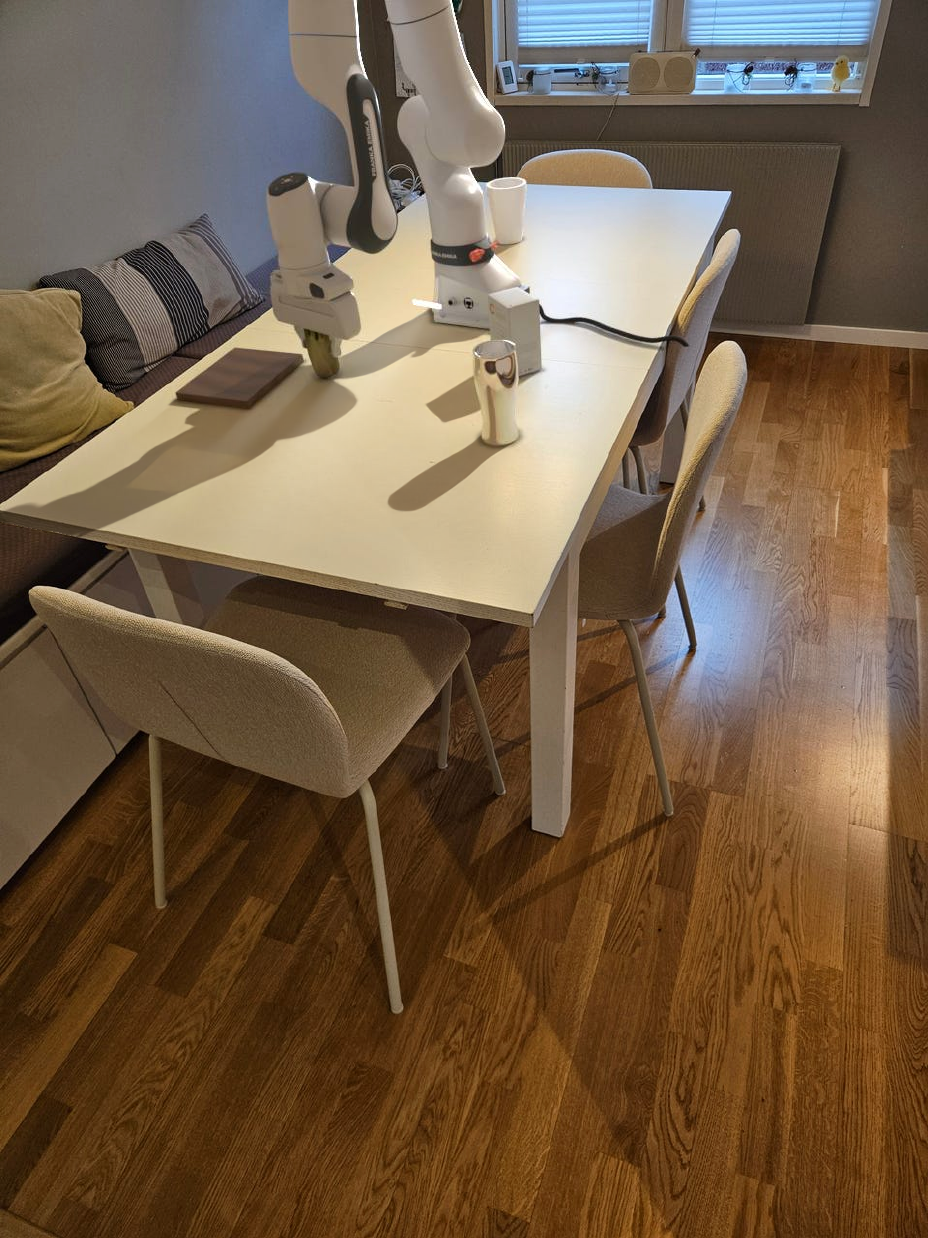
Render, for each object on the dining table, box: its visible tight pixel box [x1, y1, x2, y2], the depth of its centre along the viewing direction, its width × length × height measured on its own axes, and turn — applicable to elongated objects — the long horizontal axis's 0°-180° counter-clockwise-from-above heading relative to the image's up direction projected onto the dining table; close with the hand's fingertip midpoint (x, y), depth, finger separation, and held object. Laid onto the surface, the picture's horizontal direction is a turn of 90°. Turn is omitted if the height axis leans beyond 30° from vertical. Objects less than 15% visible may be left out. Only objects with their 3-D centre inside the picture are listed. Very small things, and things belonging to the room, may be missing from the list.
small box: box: [488, 287, 543, 378], centre depth 156 cm, size 8×6×13 cm
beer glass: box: [472, 339, 520, 446], centre depth 136 cm, size 7×7×15 cm
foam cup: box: [485, 176, 528, 245], centre depth 209 cm, size 10×9×13 cm
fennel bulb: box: [303, 328, 341, 379], centre depth 161 cm, size 6×5×12 cm
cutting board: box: [174, 347, 305, 410], centre depth 166 cm, size 20×16×2 cm
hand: (322, 351), depth 162 cm, fingers closed on fennel bulb, 6 cm apart
